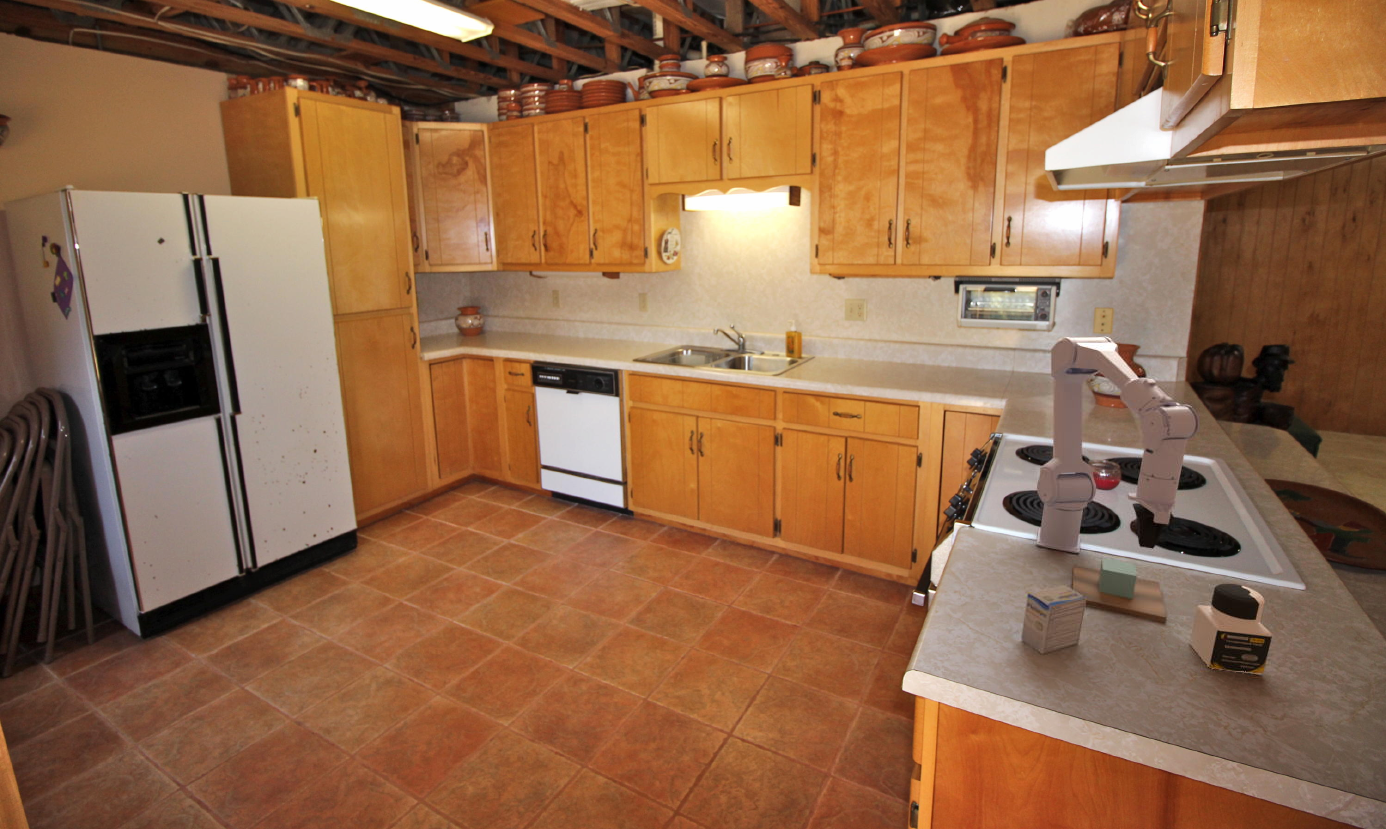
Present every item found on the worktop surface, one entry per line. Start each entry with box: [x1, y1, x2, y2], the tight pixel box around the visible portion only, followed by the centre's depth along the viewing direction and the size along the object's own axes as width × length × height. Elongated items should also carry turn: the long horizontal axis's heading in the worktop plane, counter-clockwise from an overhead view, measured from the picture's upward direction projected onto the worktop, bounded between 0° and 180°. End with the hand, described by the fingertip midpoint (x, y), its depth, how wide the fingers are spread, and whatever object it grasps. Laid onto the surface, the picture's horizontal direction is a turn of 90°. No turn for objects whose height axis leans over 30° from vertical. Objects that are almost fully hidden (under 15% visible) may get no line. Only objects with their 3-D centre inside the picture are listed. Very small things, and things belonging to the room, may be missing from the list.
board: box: [1072, 565, 1167, 624], centre depth 126 cm, size 14×14×1 cm
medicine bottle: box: [1189, 583, 1273, 674], centre depth 105 cm, size 7×7×12 cm
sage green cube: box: [1098, 557, 1138, 599], centre depth 126 cm, size 5×5×4 cm
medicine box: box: [1021, 584, 1086, 655], centre depth 110 cm, size 8×4×9 cm, turn 111°
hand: (1146, 546), depth 122 cm, fingers closed
